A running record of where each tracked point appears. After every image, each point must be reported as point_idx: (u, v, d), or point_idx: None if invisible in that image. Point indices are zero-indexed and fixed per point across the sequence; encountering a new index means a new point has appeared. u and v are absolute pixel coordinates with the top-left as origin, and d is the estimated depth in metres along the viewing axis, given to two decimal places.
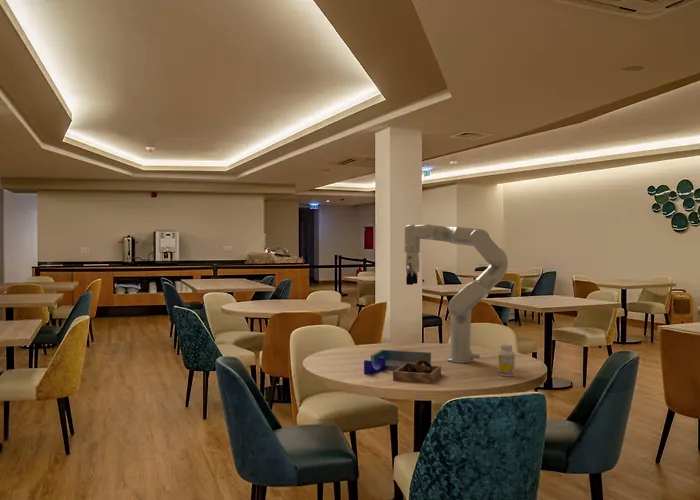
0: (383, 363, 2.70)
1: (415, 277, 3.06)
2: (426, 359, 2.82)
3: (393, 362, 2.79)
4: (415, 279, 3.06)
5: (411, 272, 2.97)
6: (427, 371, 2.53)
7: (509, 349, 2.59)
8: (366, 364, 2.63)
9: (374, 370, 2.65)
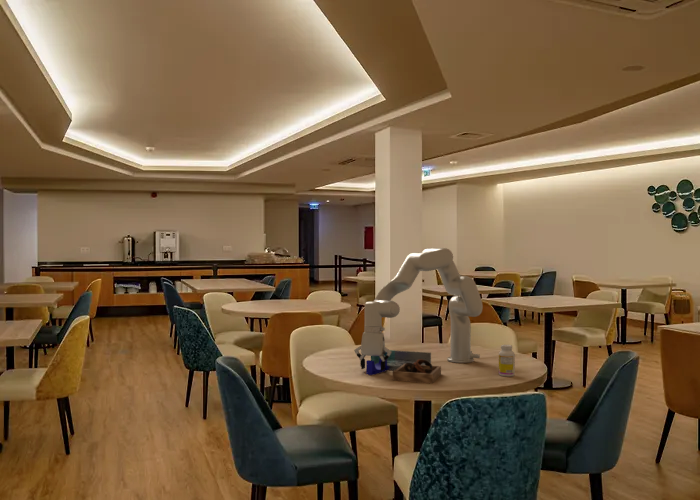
0: (385, 363, 2.70)
1: (364, 361, 2.70)
2: (426, 359, 2.82)
3: (393, 362, 2.79)
4: (364, 363, 2.70)
5: None
6: (428, 370, 2.54)
7: (509, 349, 2.59)
8: (368, 364, 2.62)
9: (376, 370, 2.64)
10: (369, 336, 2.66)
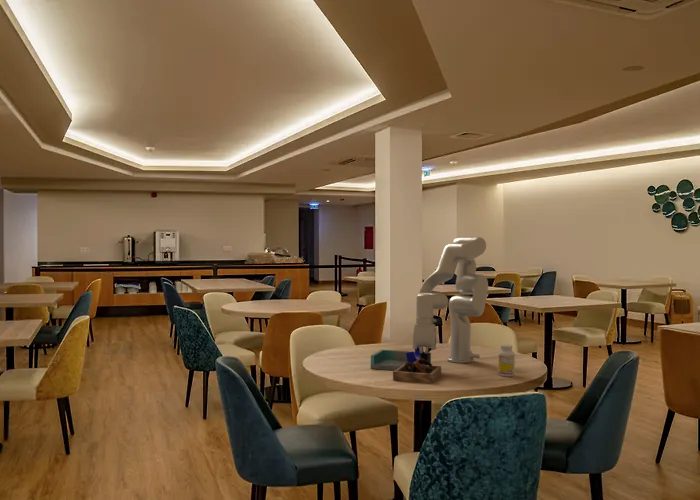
0: None
1: None
2: None
3: (393, 362, 2.79)
4: None
5: None
6: (428, 370, 2.56)
7: (509, 349, 2.59)
8: (409, 355, 2.71)
9: (416, 360, 2.73)
10: (421, 327, 2.72)
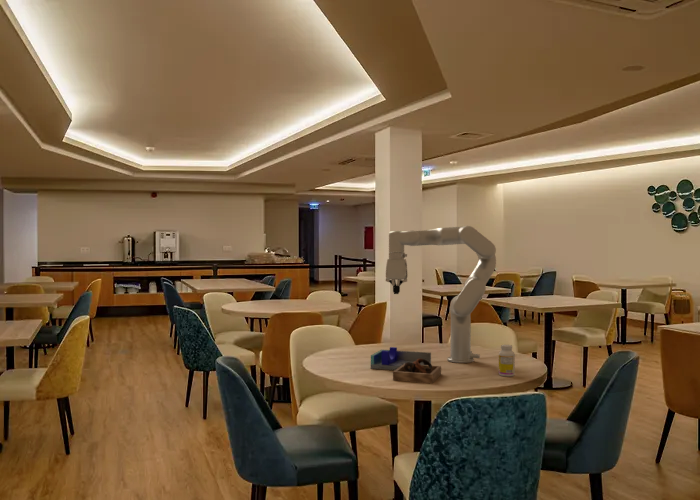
0: (395, 353, 2.84)
1: None
2: (426, 359, 2.82)
3: (393, 362, 2.79)
4: None
5: None
6: (428, 369, 2.56)
7: (509, 349, 2.59)
8: (384, 354, 2.75)
9: (390, 360, 2.77)
10: (393, 261, 2.95)
